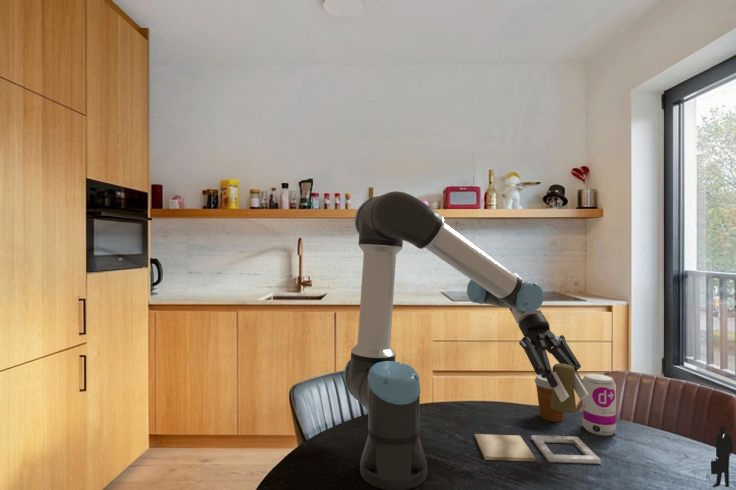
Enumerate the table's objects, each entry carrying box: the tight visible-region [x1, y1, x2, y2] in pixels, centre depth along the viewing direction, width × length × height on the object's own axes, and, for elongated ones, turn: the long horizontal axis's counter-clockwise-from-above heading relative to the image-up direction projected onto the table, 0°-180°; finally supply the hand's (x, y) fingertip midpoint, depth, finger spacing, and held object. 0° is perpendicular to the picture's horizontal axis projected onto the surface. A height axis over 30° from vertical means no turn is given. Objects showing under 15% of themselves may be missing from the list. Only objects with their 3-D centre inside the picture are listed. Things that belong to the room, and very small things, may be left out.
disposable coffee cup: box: [534, 374, 565, 423], centre depth 123 cm, size 10×10×12 cm
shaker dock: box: [530, 434, 601, 465], centre depth 102 cm, size 12×12×1 cm
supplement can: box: [581, 372, 617, 437], centre depth 114 cm, size 8×8×15 cm
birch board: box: [474, 433, 537, 462], centre depth 103 cm, size 12×12×1 cm
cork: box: [550, 362, 578, 414], centre depth 103 cm, size 6×6×11 cm
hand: (574, 397), depth 99 cm, fingers closed on cork, 5 cm apart
